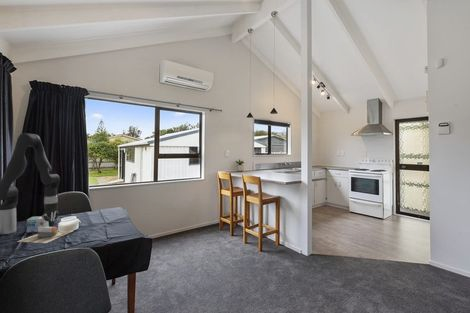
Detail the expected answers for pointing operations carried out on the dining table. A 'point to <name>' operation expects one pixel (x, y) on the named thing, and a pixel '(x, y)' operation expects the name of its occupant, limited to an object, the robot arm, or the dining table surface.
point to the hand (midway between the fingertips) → (51, 226)
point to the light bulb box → (36, 224)
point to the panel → (44, 240)
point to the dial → (46, 232)
